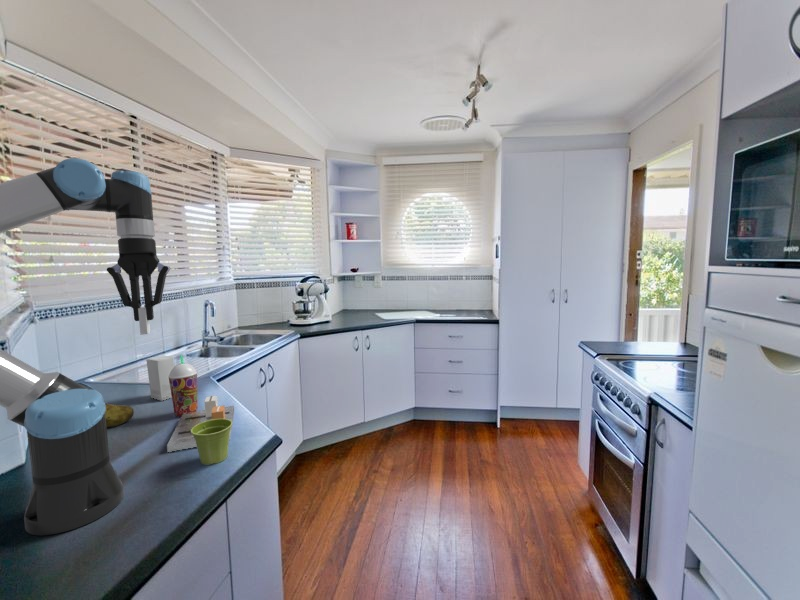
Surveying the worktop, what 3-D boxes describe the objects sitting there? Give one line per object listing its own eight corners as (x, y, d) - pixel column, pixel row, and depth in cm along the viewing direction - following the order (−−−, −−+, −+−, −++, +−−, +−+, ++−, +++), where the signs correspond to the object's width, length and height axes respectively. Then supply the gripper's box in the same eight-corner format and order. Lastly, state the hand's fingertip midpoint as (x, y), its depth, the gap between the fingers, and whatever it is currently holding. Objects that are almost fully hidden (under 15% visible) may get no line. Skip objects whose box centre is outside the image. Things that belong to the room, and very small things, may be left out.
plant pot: (242, 452, 97) (240, 420, 96) (213, 471, 88) (211, 436, 88) (215, 448, 100) (212, 416, 100) (184, 465, 92) (181, 431, 91)
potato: (136, 424, 118) (134, 399, 117) (83, 436, 110) (80, 410, 109) (133, 416, 125) (131, 393, 124) (83, 428, 116) (80, 403, 116)
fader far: (205, 417, 115) (204, 401, 115) (207, 411, 120) (206, 396, 120) (216, 415, 116) (215, 400, 116) (218, 410, 121) (216, 395, 121)
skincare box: (178, 396, 143) (175, 356, 142) (160, 402, 138) (156, 360, 137) (167, 393, 148) (164, 354, 147) (149, 398, 142) (145, 358, 141)
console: (167, 452, 99) (166, 445, 98) (183, 419, 121) (183, 412, 121) (229, 441, 104) (229, 434, 104) (234, 411, 126) (233, 405, 126)
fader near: (212, 429, 106) (211, 412, 106) (214, 423, 111) (213, 406, 110) (224, 427, 107) (223, 410, 107) (225, 421, 112) (224, 405, 112)
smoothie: (187, 419, 121) (182, 358, 119) (165, 418, 122) (160, 358, 120) (206, 409, 129) (201, 352, 127) (185, 408, 130) (180, 352, 129)
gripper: (170, 239, 97) (178, 329, 99) (110, 239, 92) (119, 333, 94) (164, 236, 90) (172, 333, 92) (98, 236, 85) (108, 338, 87)
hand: (145, 333), depth 93 cm, fingers closed
